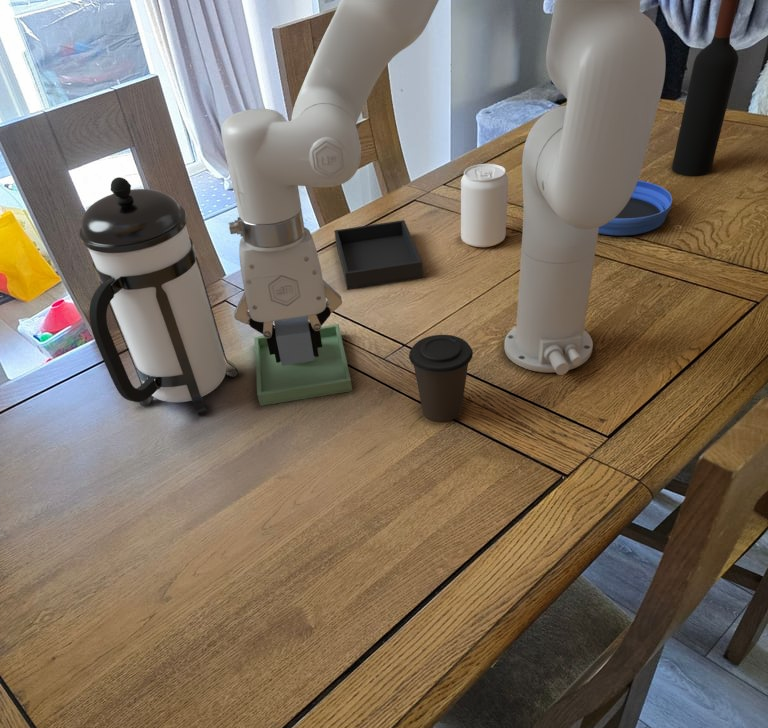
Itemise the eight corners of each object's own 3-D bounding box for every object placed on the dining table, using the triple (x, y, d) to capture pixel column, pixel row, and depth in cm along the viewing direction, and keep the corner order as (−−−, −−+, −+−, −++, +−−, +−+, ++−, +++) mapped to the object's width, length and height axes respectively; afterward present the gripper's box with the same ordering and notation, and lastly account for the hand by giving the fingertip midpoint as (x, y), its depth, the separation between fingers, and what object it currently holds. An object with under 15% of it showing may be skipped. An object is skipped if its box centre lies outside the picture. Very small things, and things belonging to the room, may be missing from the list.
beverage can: (504, 229, 130) (508, 161, 121) (505, 249, 124) (509, 179, 116) (461, 230, 131) (461, 163, 122) (460, 250, 125) (460, 182, 117)
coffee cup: (477, 394, 96) (478, 331, 89) (466, 432, 90) (466, 367, 83) (420, 388, 98) (416, 326, 91) (405, 425, 92) (401, 361, 85)
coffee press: (126, 377, 106) (40, 172, 84) (229, 350, 109) (171, 145, 87) (140, 445, 94) (44, 227, 72) (254, 412, 97) (195, 193, 75)
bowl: (680, 235, 123) (685, 215, 120) (577, 242, 124) (579, 222, 121) (655, 193, 135) (658, 174, 133) (561, 200, 136) (563, 181, 134)
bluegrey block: (314, 360, 96) (309, 331, 93) (281, 365, 96) (275, 336, 93) (311, 343, 99) (307, 314, 96) (280, 347, 99) (274, 319, 96)
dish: (352, 391, 99) (350, 380, 97) (260, 406, 98) (257, 395, 97) (340, 334, 109) (338, 323, 108) (256, 347, 108) (254, 337, 107)
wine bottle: (671, 175, 140) (709, -7, 119) (672, 161, 145) (709, -17, 124) (711, 176, 138) (758, -9, 117) (710, 162, 143) (755, -18, 122)
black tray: (422, 277, 120) (422, 261, 117) (347, 289, 119) (345, 273, 117) (405, 235, 131) (404, 219, 129) (336, 245, 131) (334, 230, 129)
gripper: (202, 250, 81) (237, 378, 95) (345, 230, 82) (360, 360, 96) (204, 223, 87) (236, 348, 100) (338, 204, 88) (353, 331, 101)
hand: (296, 353), depth 98 cm, fingers closed on bluegrey block, 4 cm apart
